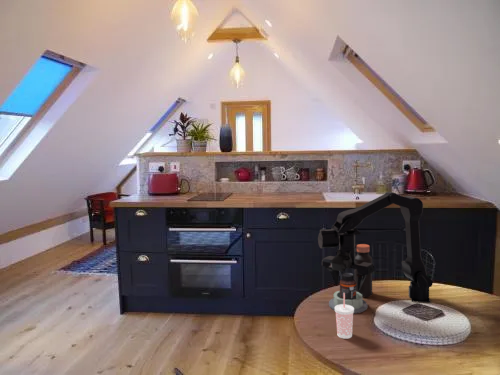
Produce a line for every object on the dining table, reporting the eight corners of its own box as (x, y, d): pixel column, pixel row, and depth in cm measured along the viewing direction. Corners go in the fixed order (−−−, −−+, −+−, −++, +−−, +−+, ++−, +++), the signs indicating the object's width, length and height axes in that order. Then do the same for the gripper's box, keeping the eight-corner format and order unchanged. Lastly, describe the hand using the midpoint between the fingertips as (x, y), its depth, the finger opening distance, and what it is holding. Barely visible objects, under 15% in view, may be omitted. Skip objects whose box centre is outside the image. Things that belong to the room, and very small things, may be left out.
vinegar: (353, 291, 162) (353, 243, 160) (370, 291, 161) (370, 243, 159) (355, 297, 155) (355, 248, 153) (373, 297, 154) (373, 247, 152)
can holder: (365, 298, 153) (365, 289, 153) (369, 314, 140) (369, 303, 139) (329, 297, 156) (328, 287, 156) (328, 312, 143) (328, 302, 142)
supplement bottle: (356, 307, 144) (356, 277, 143) (340, 306, 146) (339, 276, 144) (355, 300, 150) (355, 271, 149) (339, 300, 151) (339, 271, 150)
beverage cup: (331, 333, 128) (330, 291, 126) (346, 328, 130) (346, 287, 128) (342, 341, 122) (341, 298, 120) (358, 337, 124) (358, 294, 123)
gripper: (313, 247, 146) (314, 288, 147) (360, 255, 133) (361, 300, 135) (329, 241, 154) (329, 279, 156) (374, 248, 142) (375, 290, 143)
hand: (347, 287), depth 147 cm, fingers open, 9 cm apart
